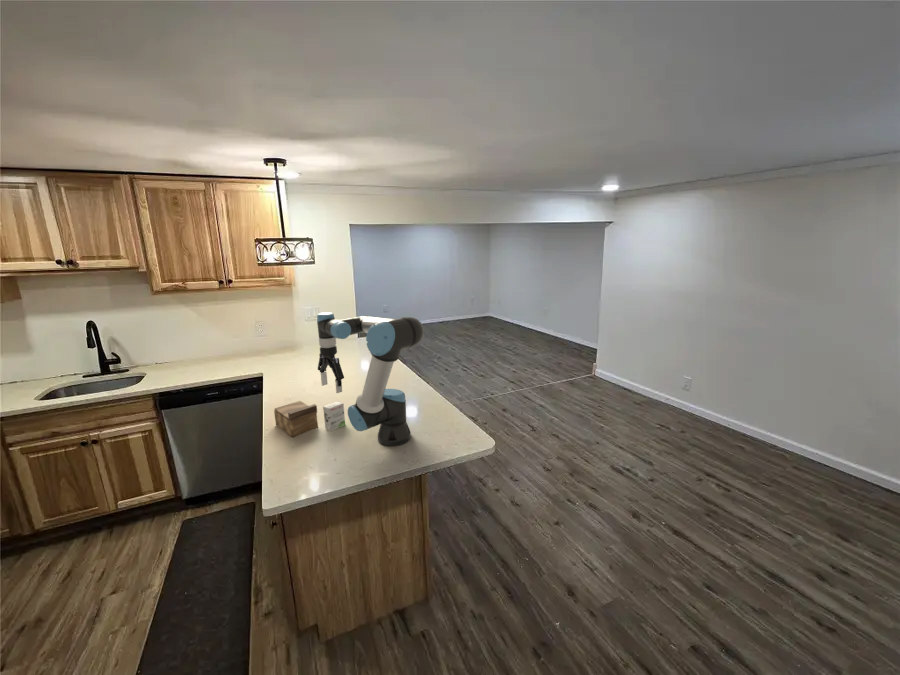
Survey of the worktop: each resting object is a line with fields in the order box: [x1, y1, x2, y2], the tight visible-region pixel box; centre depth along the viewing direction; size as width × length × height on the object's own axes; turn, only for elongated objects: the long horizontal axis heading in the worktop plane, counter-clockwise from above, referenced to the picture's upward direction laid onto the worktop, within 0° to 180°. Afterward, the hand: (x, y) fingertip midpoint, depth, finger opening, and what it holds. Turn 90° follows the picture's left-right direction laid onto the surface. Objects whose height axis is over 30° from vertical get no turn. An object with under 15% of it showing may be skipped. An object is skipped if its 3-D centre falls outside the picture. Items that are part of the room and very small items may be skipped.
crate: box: [273, 409, 319, 438], centre depth 196 cm, size 18×13×8 cm
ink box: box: [322, 400, 346, 432], centre depth 195 cm, size 9×5×12 cm, turn 139°
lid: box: [274, 400, 318, 421], centre depth 194 cm, size 18×13×4 cm
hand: (331, 388), depth 191 cm, fingers open, 13 cm apart
